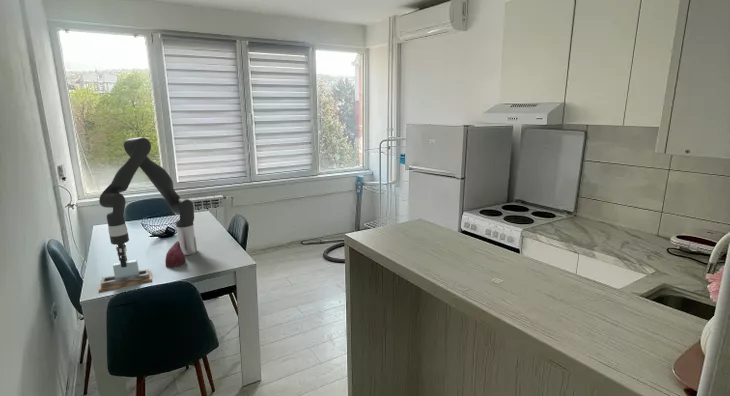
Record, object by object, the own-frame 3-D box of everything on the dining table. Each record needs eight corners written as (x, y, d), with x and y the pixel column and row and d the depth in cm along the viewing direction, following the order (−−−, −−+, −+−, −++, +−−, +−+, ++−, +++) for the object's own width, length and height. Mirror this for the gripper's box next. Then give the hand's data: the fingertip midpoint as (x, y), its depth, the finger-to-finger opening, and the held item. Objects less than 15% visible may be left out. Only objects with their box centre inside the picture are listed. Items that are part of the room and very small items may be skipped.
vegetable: (188, 265, 213) (193, 240, 212) (179, 271, 203) (185, 244, 201) (169, 261, 212) (174, 236, 211) (160, 266, 202) (165, 240, 201)
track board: (151, 272, 197) (150, 266, 196) (152, 281, 186) (151, 275, 186) (101, 282, 186) (100, 276, 185) (98, 292, 176) (97, 285, 175)
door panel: (139, 275, 190) (136, 259, 188) (139, 278, 187) (136, 261, 185) (116, 280, 185) (113, 263, 183) (115, 282, 182) (112, 265, 180)
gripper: (127, 235, 176) (133, 267, 180) (127, 227, 188) (133, 257, 192) (108, 238, 172) (114, 271, 176) (110, 230, 184) (116, 260, 188)
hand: (124, 264), depth 184 cm, fingers open, 8 cm apart
